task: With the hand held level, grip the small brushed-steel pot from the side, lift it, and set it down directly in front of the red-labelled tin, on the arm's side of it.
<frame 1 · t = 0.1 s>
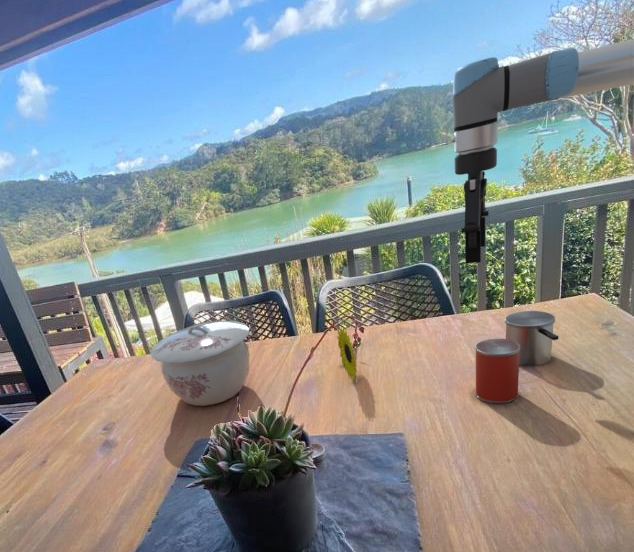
hand: (475, 254, 96), 27 cm above the table, tool pointing down, fingers open, 13 cm apart
steel pot: (527, 357, 103), on the table
tin can: (496, 395, 92), on the table
decorative plant: (351, 366, 120), on the table
chamber pot: (214, 393, 124), on the table
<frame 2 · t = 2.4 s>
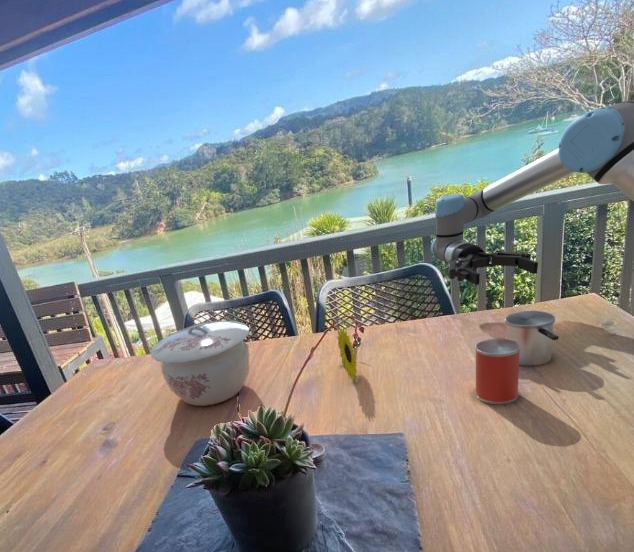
hand: (506, 273, 106), 18 cm above the table, tool horizontal, fingers open, 13 cm apart
nothing on the table moved.
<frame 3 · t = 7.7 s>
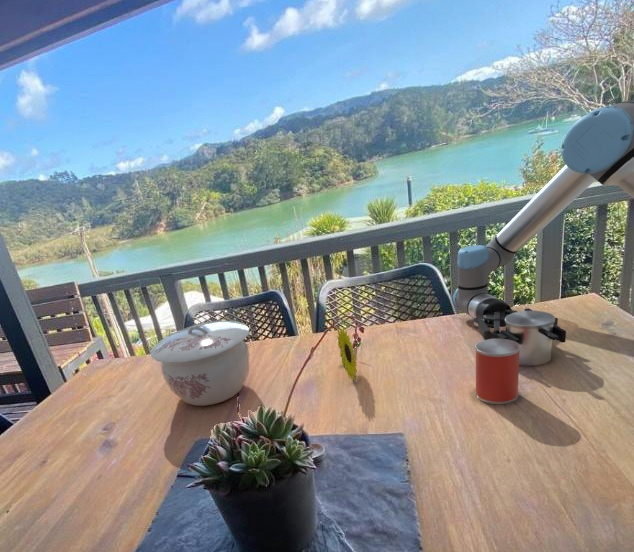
hand: (540, 341, 97), 6 cm above the table, tool horizontal, fingers closed on steel pot, 9 cm apart
steel pot: (527, 357, 104), on the table, touching gripper
everything else where it was.
when the fingers open (6 cm above the table, at t = 15.7 s): steel pot stays where it is, on the table.
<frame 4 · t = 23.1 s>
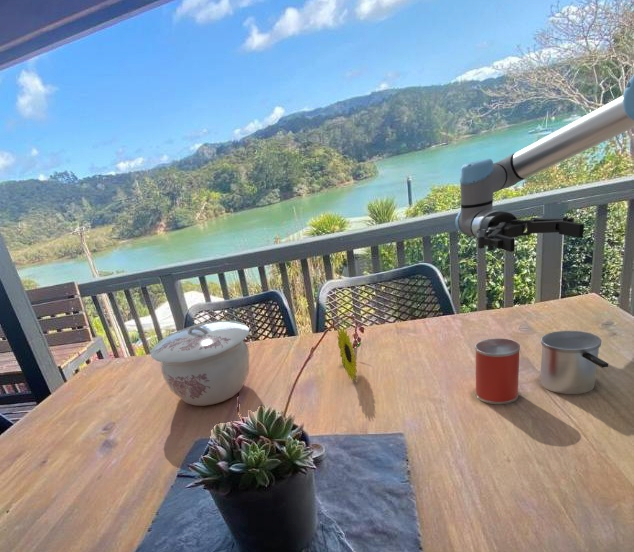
hand: (546, 238, 91), 28 cm above the table, tool horizontal, fingers open, 13 cm apart
steel pot: (566, 383, 91), on the table
everything else where it was.
at the end: steel pot inside the target area on the table beside the tin can (0.1 cm from its centre), on the table; steel pot tilted 0°; the gripper is holding nothing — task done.
